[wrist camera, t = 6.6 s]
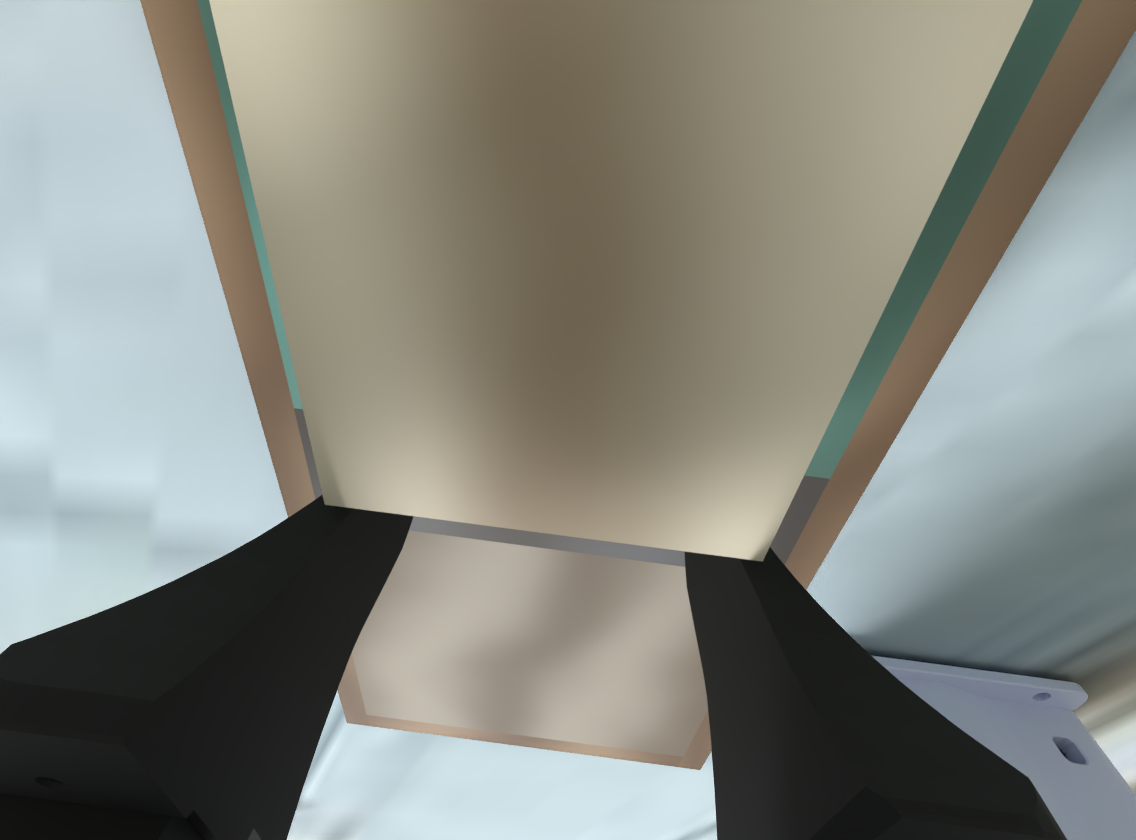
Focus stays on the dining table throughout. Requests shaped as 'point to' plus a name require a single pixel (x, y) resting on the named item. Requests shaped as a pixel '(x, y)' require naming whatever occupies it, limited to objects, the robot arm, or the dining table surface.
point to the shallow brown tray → (600, 568)
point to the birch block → (593, 240)
